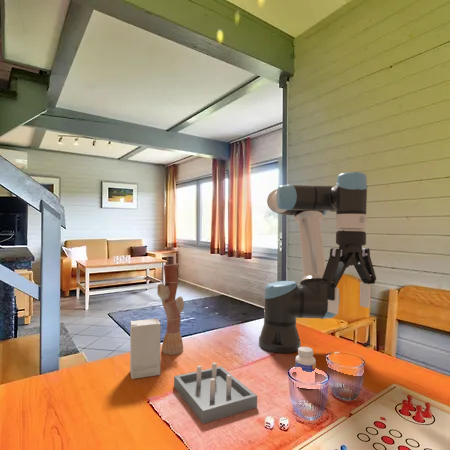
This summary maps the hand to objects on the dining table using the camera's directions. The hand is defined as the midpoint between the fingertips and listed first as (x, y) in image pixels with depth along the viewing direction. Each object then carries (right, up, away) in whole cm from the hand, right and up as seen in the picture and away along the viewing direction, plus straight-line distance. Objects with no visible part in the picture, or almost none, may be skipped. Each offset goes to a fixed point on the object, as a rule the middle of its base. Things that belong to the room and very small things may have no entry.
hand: (349, 309), depth 82 cm
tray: (-36, -20, -6) cm, 42 cm away
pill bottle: (-12, -21, +1) cm, 24 cm away
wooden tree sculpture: (-52, -21, +23) cm, 61 cm away
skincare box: (-57, -20, +6) cm, 60 cm away
